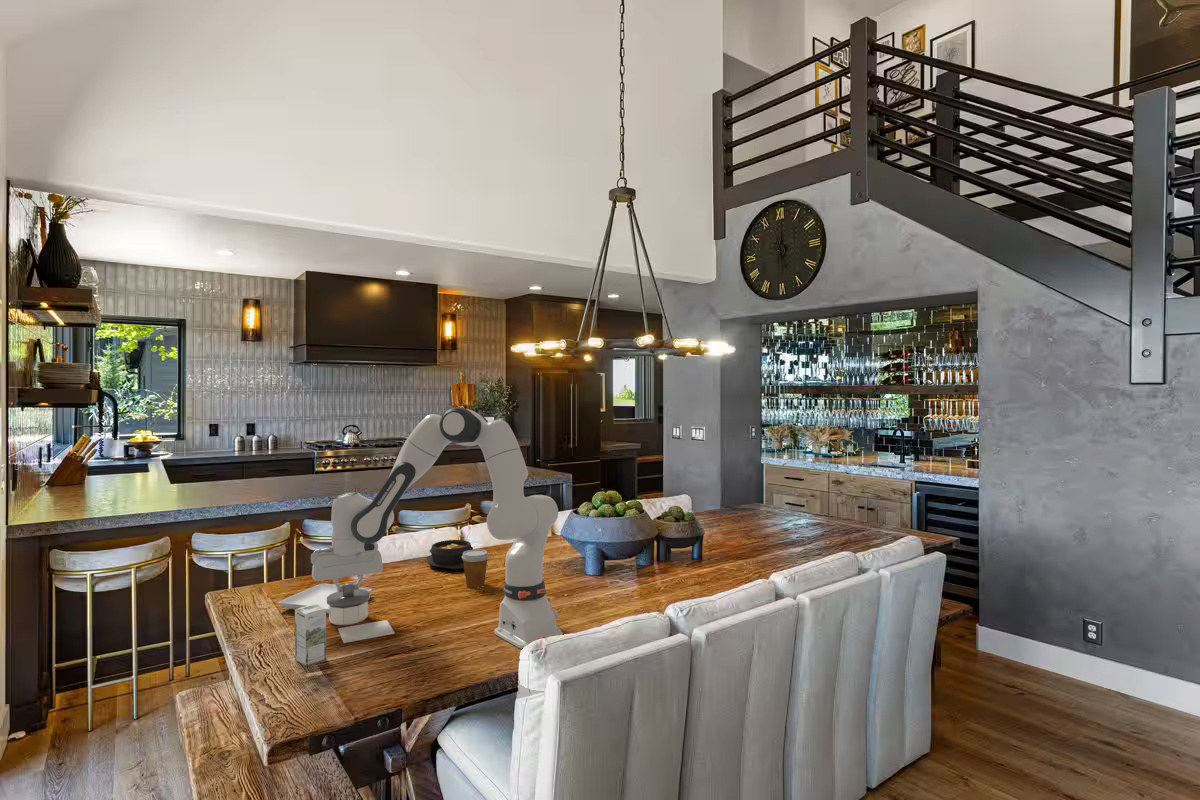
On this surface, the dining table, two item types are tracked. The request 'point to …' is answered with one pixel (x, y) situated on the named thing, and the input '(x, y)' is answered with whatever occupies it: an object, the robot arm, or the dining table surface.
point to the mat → (365, 631)
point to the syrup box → (310, 634)
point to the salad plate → (312, 597)
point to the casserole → (448, 554)
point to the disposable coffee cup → (475, 567)
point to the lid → (348, 596)
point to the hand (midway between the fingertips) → (348, 590)
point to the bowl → (348, 614)
